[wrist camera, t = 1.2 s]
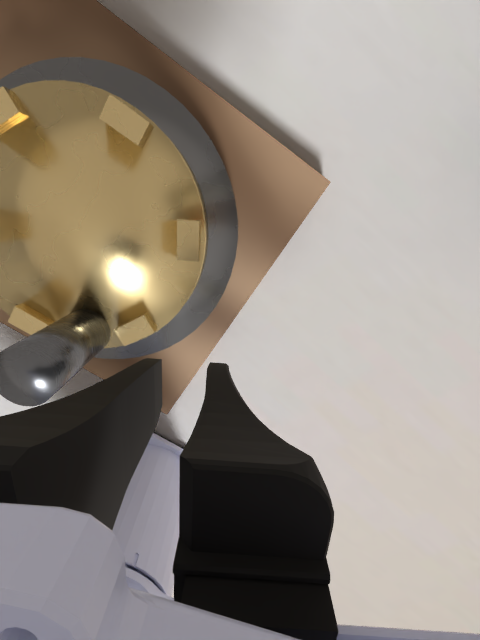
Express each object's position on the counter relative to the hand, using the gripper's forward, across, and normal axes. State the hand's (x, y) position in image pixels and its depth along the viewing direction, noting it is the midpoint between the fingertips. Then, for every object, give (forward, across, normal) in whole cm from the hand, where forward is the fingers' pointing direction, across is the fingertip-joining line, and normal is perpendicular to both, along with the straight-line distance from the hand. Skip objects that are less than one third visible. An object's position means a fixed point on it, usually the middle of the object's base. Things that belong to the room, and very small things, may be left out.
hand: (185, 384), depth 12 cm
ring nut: (+6, +6, -5) cm, 10 cm away
